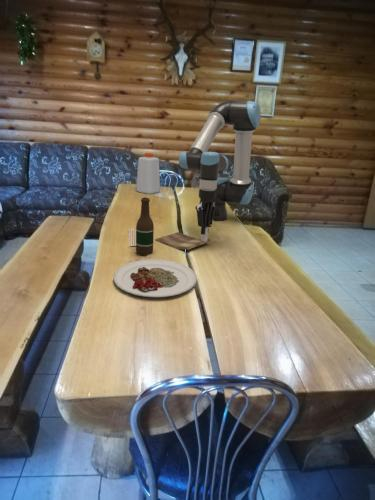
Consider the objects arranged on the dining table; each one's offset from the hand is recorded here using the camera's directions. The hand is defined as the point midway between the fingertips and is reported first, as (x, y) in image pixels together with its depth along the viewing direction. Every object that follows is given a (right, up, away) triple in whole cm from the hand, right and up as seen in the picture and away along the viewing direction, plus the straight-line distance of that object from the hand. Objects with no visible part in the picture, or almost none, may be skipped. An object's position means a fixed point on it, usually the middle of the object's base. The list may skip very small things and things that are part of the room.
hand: (204, 240), depth 157 cm
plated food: (-19, -16, -31) cm, 40 cm away
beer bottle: (-26, -6, -9) cm, 28 cm away
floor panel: (-13, 0, +7) cm, 15 cm away
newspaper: (-32, 0, +7) cm, 33 cm away
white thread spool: (-37, +39, +102) cm, 116 cm away
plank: (-5, -2, 0) cm, 6 cm away
